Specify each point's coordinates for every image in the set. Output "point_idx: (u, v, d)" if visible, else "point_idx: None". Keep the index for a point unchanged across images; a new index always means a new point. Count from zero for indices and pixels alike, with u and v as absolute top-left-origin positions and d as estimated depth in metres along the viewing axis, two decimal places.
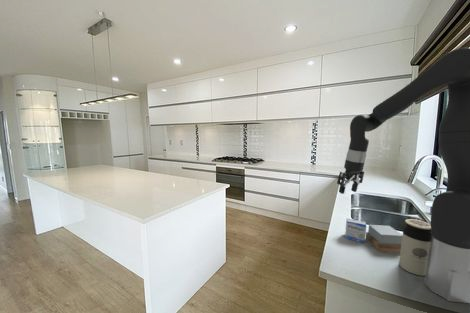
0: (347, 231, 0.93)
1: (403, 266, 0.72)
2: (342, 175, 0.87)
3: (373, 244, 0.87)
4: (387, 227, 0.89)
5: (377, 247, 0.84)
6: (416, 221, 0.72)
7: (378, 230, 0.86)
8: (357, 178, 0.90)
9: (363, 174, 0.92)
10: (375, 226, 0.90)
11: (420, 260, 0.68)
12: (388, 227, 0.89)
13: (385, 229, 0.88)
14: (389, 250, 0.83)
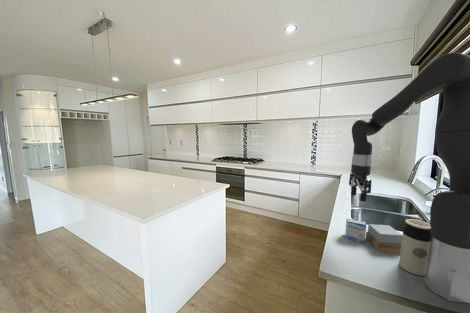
0: (347, 231, 0.93)
1: (403, 266, 0.72)
2: (369, 182, 0.83)
3: (373, 244, 0.87)
4: (387, 227, 0.89)
5: (377, 247, 0.84)
6: (416, 221, 0.72)
7: (378, 229, 0.87)
8: None
9: None
10: (375, 225, 0.90)
11: (420, 260, 0.68)
12: (388, 227, 0.89)
13: (385, 228, 0.88)
14: (389, 250, 0.83)
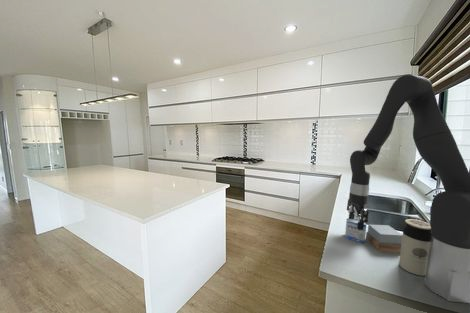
0: (347, 231, 0.93)
1: (403, 266, 0.72)
2: (366, 212, 0.85)
3: (373, 244, 0.87)
4: (386, 227, 0.89)
5: (377, 247, 0.84)
6: (416, 221, 0.72)
7: (378, 230, 0.86)
8: None
9: None
10: (374, 226, 0.90)
11: (420, 260, 0.68)
12: (387, 227, 0.89)
13: (385, 228, 0.88)
14: (389, 250, 0.83)
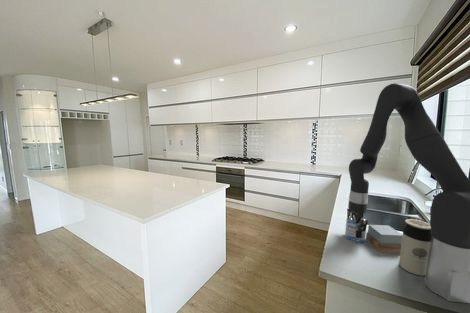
0: (347, 231, 0.93)
1: (403, 266, 0.72)
2: (365, 222, 0.86)
3: (373, 244, 0.87)
4: (387, 227, 0.89)
5: (377, 247, 0.84)
6: (416, 221, 0.72)
7: (378, 230, 0.86)
8: None
9: None
10: (375, 226, 0.90)
11: (420, 260, 0.68)
12: (387, 227, 0.89)
13: (385, 229, 0.88)
14: (389, 250, 0.83)
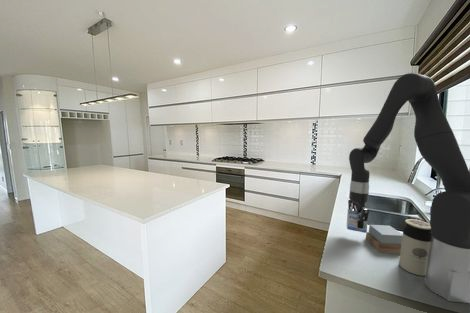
0: (349, 222, 0.92)
1: (403, 266, 0.72)
2: (367, 212, 0.85)
3: (373, 244, 0.87)
4: (388, 227, 0.89)
5: (377, 247, 0.84)
6: (416, 221, 0.72)
7: (379, 230, 0.86)
8: None
9: None
10: (376, 226, 0.90)
11: (420, 260, 0.68)
12: (389, 227, 0.89)
13: (386, 229, 0.88)
14: (389, 250, 0.83)
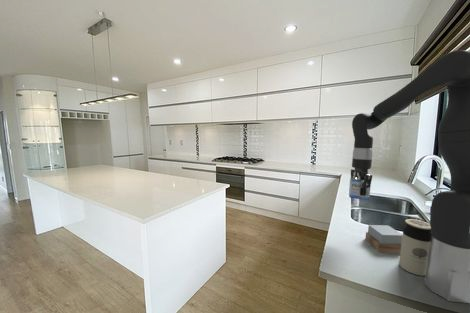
0: (351, 190, 0.90)
1: (403, 266, 0.72)
2: (370, 177, 0.83)
3: (373, 244, 0.87)
4: (386, 227, 0.89)
5: (377, 247, 0.84)
6: (416, 221, 0.72)
7: (379, 230, 0.86)
8: None
9: None
10: (375, 226, 0.90)
11: (420, 260, 0.68)
12: (387, 227, 0.89)
13: (385, 229, 0.88)
14: (389, 251, 0.83)
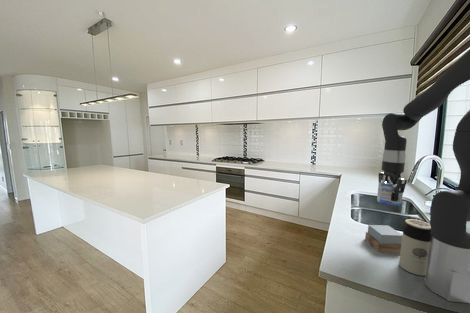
0: (381, 195, 0.84)
1: (403, 266, 0.72)
2: (404, 182, 0.77)
3: (373, 244, 0.87)
4: (386, 227, 0.89)
5: (377, 247, 0.84)
6: (416, 221, 0.72)
7: (378, 230, 0.86)
8: None
9: None
10: (375, 226, 0.90)
11: (420, 260, 0.68)
12: (387, 227, 0.89)
13: (385, 229, 0.88)
14: (389, 250, 0.83)
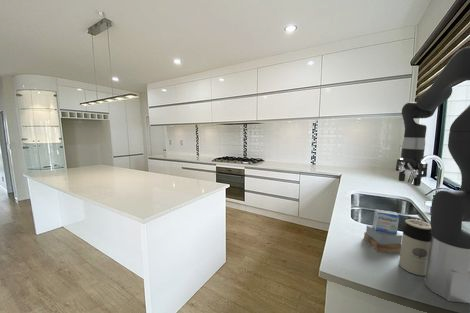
0: (377, 223, 0.86)
1: (403, 266, 0.72)
2: (425, 165, 0.80)
3: (371, 244, 0.87)
4: None
5: (375, 247, 0.84)
6: (416, 221, 0.72)
7: (377, 231, 0.86)
8: None
9: None
10: (373, 227, 0.90)
11: (420, 260, 0.68)
12: None
13: None
14: (387, 250, 0.83)
